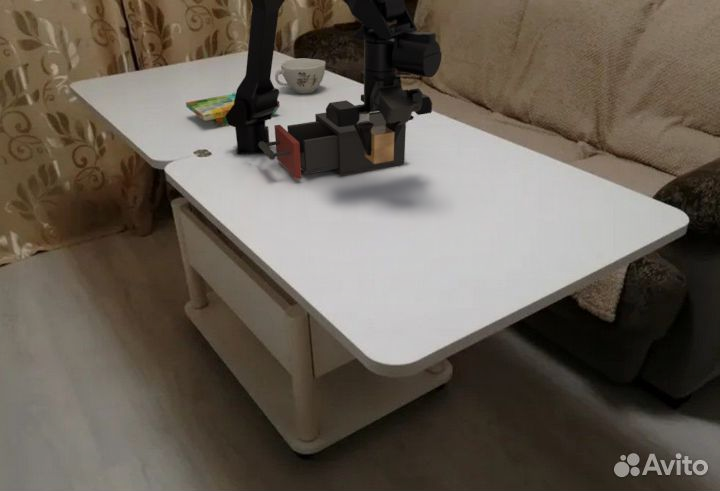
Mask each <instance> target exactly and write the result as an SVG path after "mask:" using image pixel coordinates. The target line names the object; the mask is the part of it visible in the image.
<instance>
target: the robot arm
mask: <svg viewBox="0 0 720 491" xmlns="http://www.w3.org/2000/svg"><path fill="white" fill-rule="evenodd" d="M285 1H286V0H250V3H251V16H250V25H249V26H250V27H249V28H250V29H249V39H248V47H247V48H248V49H247V59H246V69H245V75H244V77H243V79H242V80H241V82H240V83H239V85H238V87H237V88H236V90H235V91H236V92H235V93H236V96H235V100H234V105H233V106H232V108H231V109H230V110H229V112H228V113H227V114H226V119H227V122H228V124H227V125H228V126H230V127H233V128H235V137H236V138H235V139H236V146H237V148H236V155H262V154H263V155H264V154H265V153H264V152H263V151H262V150H261V148H260V147H259V146H258V144H259V142H261V141H263V142H265V143H268V142H271V141H270V130H269V126H268V125H266V121H268V120H272V118H273V115H272V113H273V111H274V110H275V107H277V106H278V103H277V101H278V98H279V95H280V89H278V88H277V87H275V86H274V84H273V82H272V79H271V75H272V67H273V60H274V51H275V44H276V35H277V27H278V18H279V12H280V8H281V7H282V6H283V4H284V2H285ZM342 2H344V3H345V4H346V5H347V7H348V8H349V11H350V14H351V15H352V16H353V17H354V18H355V19H356V20H357V21H358V22H359V23H360V24H362V25H361V27H360V28H359V29H358V30H357V31H356V32H355V33H353V34H352V38H353V39H354V40H361V41H363V70H361V71H360V78H361V79H363V94H360V101H361V102H363V104H353V103H352V102H350V101H348V100H339V101H333V102H329V103H328V104H327V106H326V107H325V113H326V118H327V119H328V120H330V121H331V122H332V123H334V124H335V125H336V126H338V127H345V126H352V125H354V127H355V129H356V131H357V132H358V135H359V137H360V139H361V142H362V144H363V147H364V149H365V152H366V154H367V155H368V156H371V129H372V127H373V125H374V124H373V123H371V122H370V121H369V115H371V114H378V113H381V114H382V116H383V117H384V120H385V121H386V127H387V128H389V129H390V130H392V131H393V132H394V145H395V142H396V140H397V137H398V135H399V132H400V130H401V129H402V127H403V125H404V124H405V123H406V124H407V123H408V122H409V121H413V120H414V118H415V116H413V115H412V113H415V114H416V115H418V116H422V115H428V114H431V113H432V111H433V101H432V99H431V97H430V96H429V95H427V94H424V93H423V92H422V91H421V89H420V88H413V89H412V88H411V89H403V87H402V79H401V75H399V74H398V72H399V73H402V74H408V75H412V76H417V77H424V78H433V77H434V76H435V75H436V74H437V72H438V71H439V68H440V65H441V62H442V51H441V47H440V44H439V42H438V41H437V40H436V39H437V34H436V32H431V31H428V32H422V31H418V29H417V26H416V24H415V23H414V19H413V18H412V16H411V15H410V13H409V11H408V8H407V6H406V5H405V1H404V0H342ZM395 24H396V25H395ZM268 147H269V148H270V146H268ZM265 155H266V154H265Z"/></svg>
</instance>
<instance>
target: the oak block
mask: <svg viewBox="0 0 720 491" xmlns="http://www.w3.org/2000/svg"><path fill="white" fill-rule="evenodd" d="M365 157H366V158H367V159H369V160H370V161H371V162H372V163H374V164H377V163H382V162H388V161H393V159H394V132H393V131H392V130H390V129H389V128H387V127H386V126H378V127H372V129H371V156H368V155H367V154H366V152H365Z"/></svg>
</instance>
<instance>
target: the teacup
mask: <svg viewBox="0 0 720 491" xmlns="http://www.w3.org/2000/svg"><path fill="white" fill-rule="evenodd" d="M326 63H327V62H326V61H325V60H321V59H315V58H305V57H302V58H292V59H287V60H285V61H284V60H283V61H282V62H281V64H280V69H277V70H276V72H275V74H274V77H275V78H274V79H275V81H276V84H278V85H279V86H282V87H289V88H291V89H292V90H293V91H294V92H295V93H297V94H311V93H315V91H316V89H317V88H318V87H319V86H320V85H321V83H322V81H323V79H324V76H325V73H326ZM280 75H282V76H283V78H284V80H285V82H282V81H280V80H279V76H280Z"/></svg>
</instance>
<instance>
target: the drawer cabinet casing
mask: <svg viewBox="0 0 720 491" xmlns="http://www.w3.org/2000/svg"><path fill="white" fill-rule="evenodd" d="M314 116H315V121H320V122H322V123H323V124H324V125H326V126H327V127H328V128H329V129H331V130H332V131H333V132H334V133H336V134H337V135H338V154H339V168H337V169H332V171H334V172H335V173H336V174H337V175H338V176H340V177H344V176H349V175H354V174H355V175H356V174H359V173H365V172H371V171H376V170H381V169H386V168H390V167H391V168H392V167H396V166H402V165H405V158H406V157H405V155H406V132H407V131H406V129H407V123H405V124H404V125H403V127H402V129H401V130H400V132H399V135H398V137H397V140H396V142H395V145H394V159H393V161H388V162H382V163H377V164H374V163H372V162H371V161H370V160H369V159H367V158H366V157H365V149H364V147H363V144H362V142H361V139H360V137H359V135H358V132H357V131H356V129H355V127H354V125H352V126H345V127H338V126H336V125H335V124H334V123H332V122H331V121H330V120H328V119H327V118H326V112H320V113H315V115H314ZM369 121H370V122H371V123H373V124H374V125H373V127H378V126H386V121H385V120H384V117H383V116H382V114H381V113H378V114H371V115H369Z"/></svg>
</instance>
